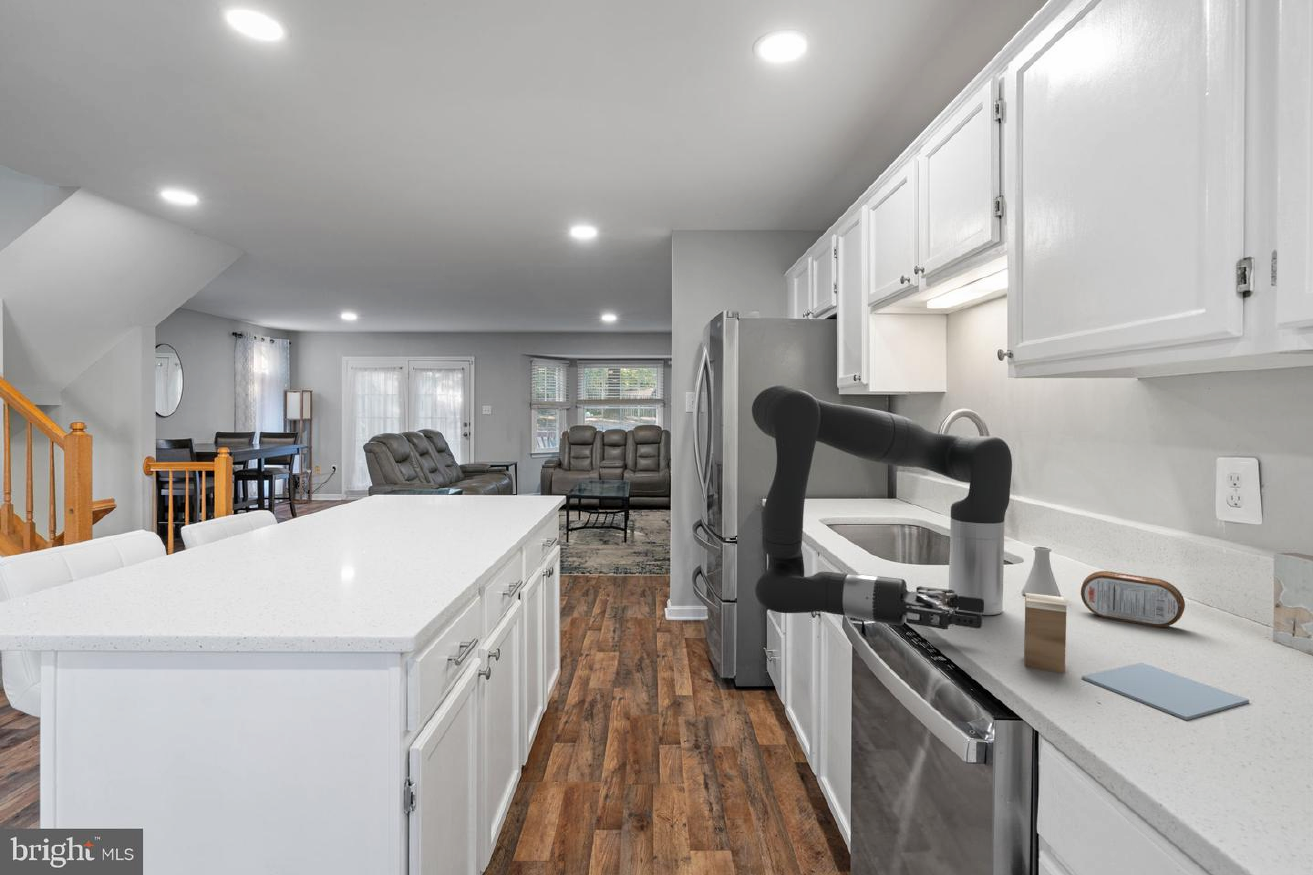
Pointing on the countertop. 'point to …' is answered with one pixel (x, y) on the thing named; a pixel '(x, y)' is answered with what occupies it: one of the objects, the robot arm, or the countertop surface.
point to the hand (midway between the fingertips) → (982, 613)
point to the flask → (1041, 575)
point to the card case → (1045, 632)
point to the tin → (1132, 598)
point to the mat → (1165, 690)
